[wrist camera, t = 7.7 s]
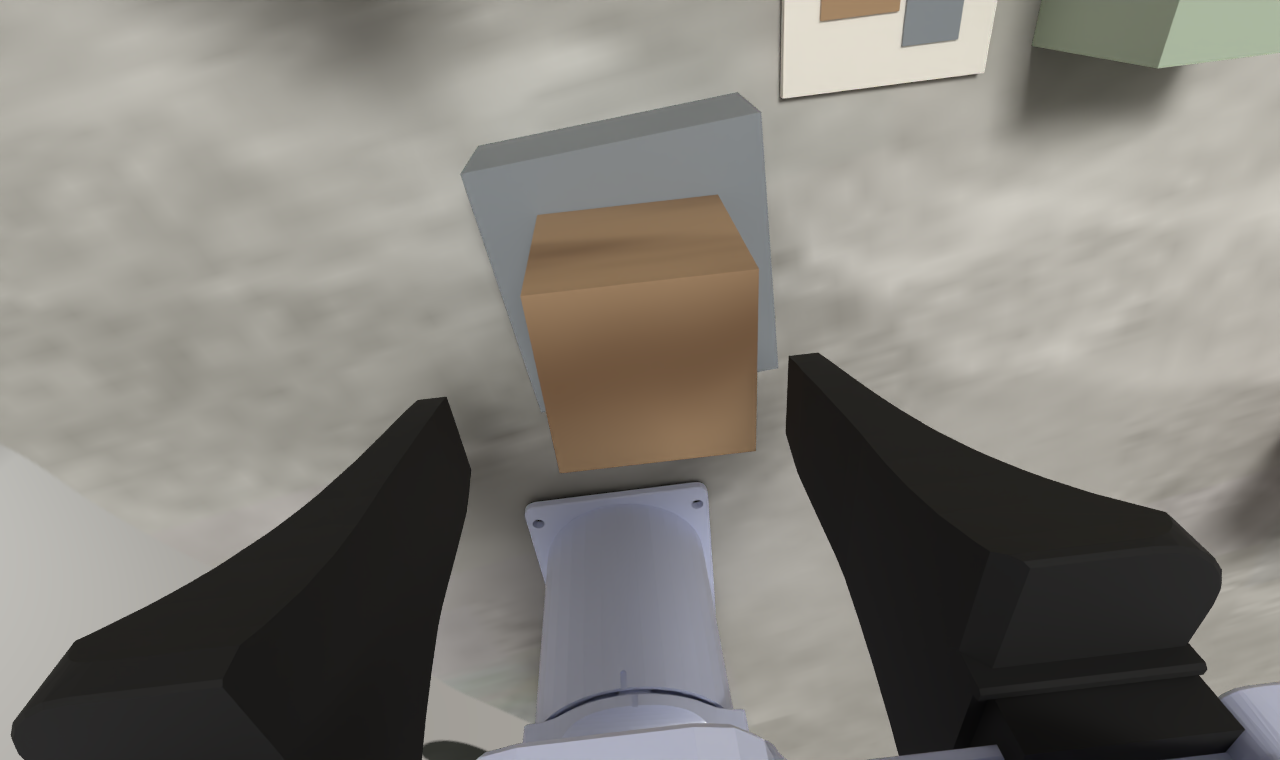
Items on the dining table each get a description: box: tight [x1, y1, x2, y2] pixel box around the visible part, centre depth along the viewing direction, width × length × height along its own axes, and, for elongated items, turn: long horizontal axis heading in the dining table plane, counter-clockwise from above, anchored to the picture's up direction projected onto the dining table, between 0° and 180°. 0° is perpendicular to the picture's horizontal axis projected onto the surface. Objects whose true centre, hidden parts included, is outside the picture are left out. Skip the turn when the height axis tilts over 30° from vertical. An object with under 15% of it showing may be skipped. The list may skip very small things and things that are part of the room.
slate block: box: [460, 92, 778, 412], centre depth 20 cm, size 8×8×4 cm
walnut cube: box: [520, 195, 759, 473], centre depth 16 cm, size 5×5×5 cm
